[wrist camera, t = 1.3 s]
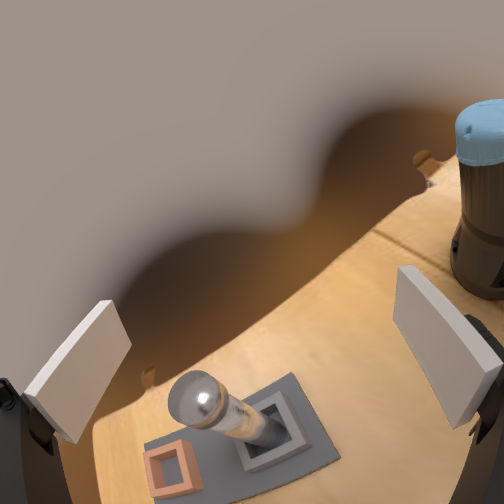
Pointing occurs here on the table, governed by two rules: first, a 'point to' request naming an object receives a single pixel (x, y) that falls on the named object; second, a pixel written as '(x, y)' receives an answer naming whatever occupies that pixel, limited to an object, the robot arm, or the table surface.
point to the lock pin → (221, 411)
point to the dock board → (239, 454)
